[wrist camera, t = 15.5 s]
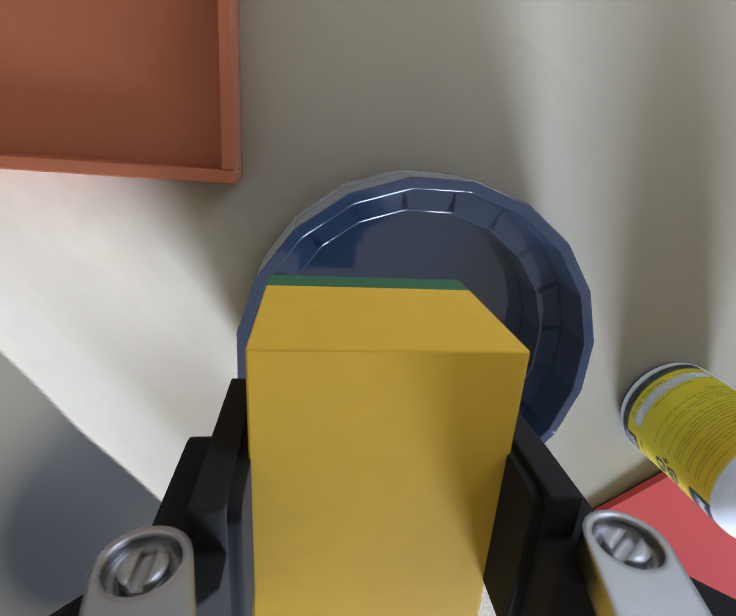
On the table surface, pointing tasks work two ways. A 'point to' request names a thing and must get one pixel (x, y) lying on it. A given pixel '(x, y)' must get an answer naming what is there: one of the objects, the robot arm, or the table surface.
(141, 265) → the table surface
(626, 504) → the desk lamp
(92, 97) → the sponge dish
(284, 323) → the sponge
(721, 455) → the pill bottle
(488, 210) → the bowl
